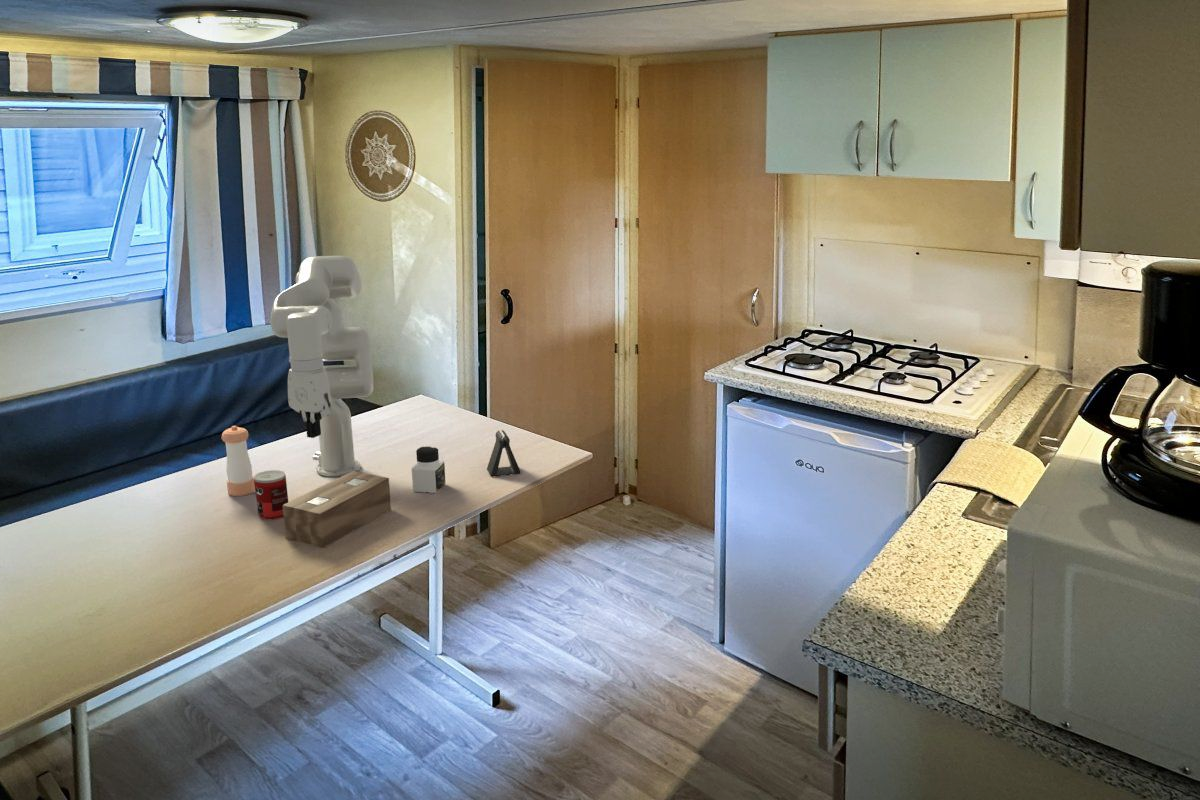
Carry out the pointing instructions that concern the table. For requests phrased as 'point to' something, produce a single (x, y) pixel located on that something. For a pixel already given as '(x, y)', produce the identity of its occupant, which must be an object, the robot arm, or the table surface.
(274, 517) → the canned food
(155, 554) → the table surface
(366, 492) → the walnut block
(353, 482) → the pin
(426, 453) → the medicine bottle
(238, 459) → the pepper shaker
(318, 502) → the pin
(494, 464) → the phone stand
